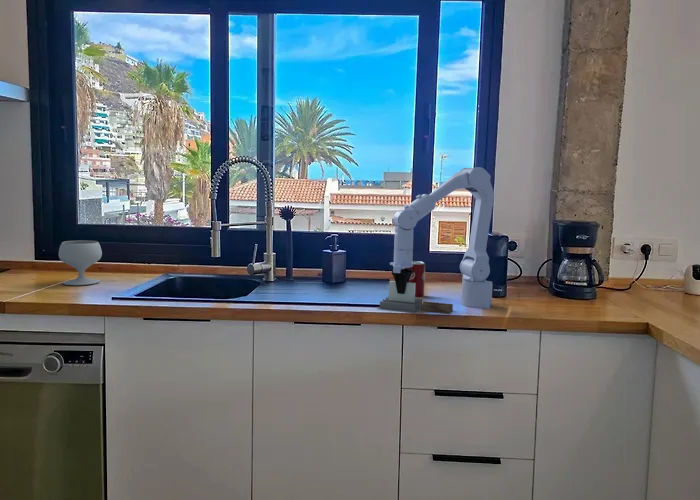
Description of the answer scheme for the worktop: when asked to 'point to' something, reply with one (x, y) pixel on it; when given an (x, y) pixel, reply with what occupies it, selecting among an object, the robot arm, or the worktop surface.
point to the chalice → (80, 258)
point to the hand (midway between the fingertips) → (401, 293)
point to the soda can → (418, 277)
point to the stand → (436, 307)
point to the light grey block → (407, 296)
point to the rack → (400, 305)
